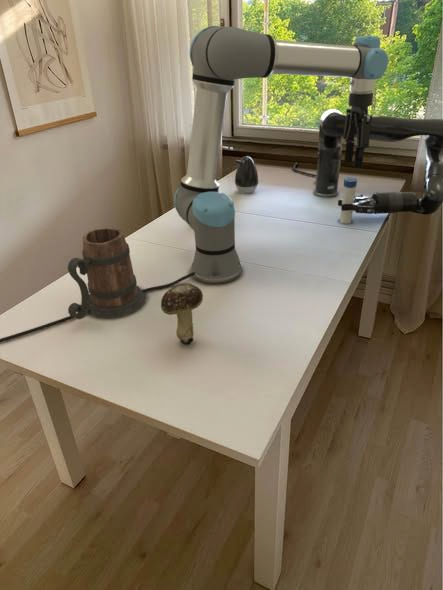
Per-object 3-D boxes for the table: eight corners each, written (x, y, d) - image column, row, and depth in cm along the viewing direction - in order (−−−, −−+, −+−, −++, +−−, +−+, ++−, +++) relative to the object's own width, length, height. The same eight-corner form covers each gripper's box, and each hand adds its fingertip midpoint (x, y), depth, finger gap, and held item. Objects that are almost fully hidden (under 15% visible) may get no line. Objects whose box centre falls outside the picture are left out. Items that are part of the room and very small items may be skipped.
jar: (346, 224, 162) (352, 183, 154) (337, 221, 164) (342, 180, 156) (353, 221, 164) (358, 180, 156) (344, 218, 167) (349, 178, 158)
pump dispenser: (230, 190, 197) (229, 155, 189) (251, 186, 201) (251, 151, 193) (241, 196, 189) (240, 161, 181) (262, 192, 193) (263, 157, 185)
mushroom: (205, 329, 111) (202, 278, 102) (206, 352, 103) (202, 298, 95) (168, 331, 110) (161, 279, 102) (165, 354, 103) (158, 300, 95)
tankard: (113, 279, 133) (101, 217, 123) (158, 293, 126) (149, 228, 115) (52, 320, 116) (32, 252, 106) (99, 339, 109) (83, 267, 98)
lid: (351, 188, 154) (352, 182, 153) (340, 185, 157) (341, 179, 156) (358, 185, 157) (359, 179, 156) (348, 182, 160) (349, 176, 158)
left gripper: (337, 88, 148) (331, 158, 161) (364, 97, 132) (355, 174, 144) (358, 87, 149) (350, 156, 162) (388, 95, 133) (376, 171, 145)
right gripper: (392, 220, 157) (343, 222, 157) (378, 205, 169) (333, 207, 169) (395, 199, 153) (346, 202, 153) (381, 186, 165) (335, 188, 165)
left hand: (352, 164), depth 153 cm, fingers open, 7 cm apart
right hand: (340, 205), depth 161 cm, fingers closed on jar, 4 cm apart
